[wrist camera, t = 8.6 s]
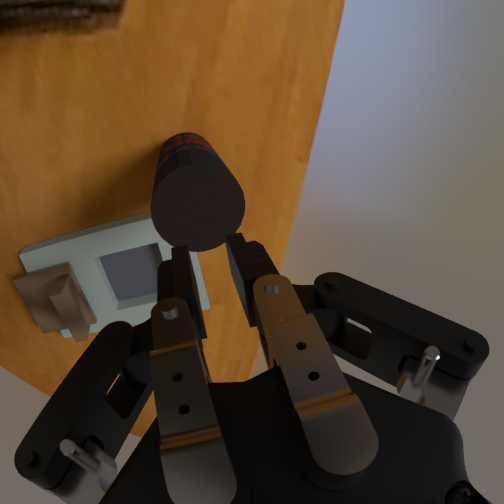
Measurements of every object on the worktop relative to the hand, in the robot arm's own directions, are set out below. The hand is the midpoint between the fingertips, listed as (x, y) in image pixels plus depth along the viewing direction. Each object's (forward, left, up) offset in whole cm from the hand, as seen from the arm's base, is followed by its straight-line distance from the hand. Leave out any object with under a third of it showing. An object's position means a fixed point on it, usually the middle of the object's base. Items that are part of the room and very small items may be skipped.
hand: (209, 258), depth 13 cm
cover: (+12, -21, -19) cm, 30 cm away
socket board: (+12, -12, -21) cm, 27 cm away
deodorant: (0, 0, -21) cm, 21 cm away
